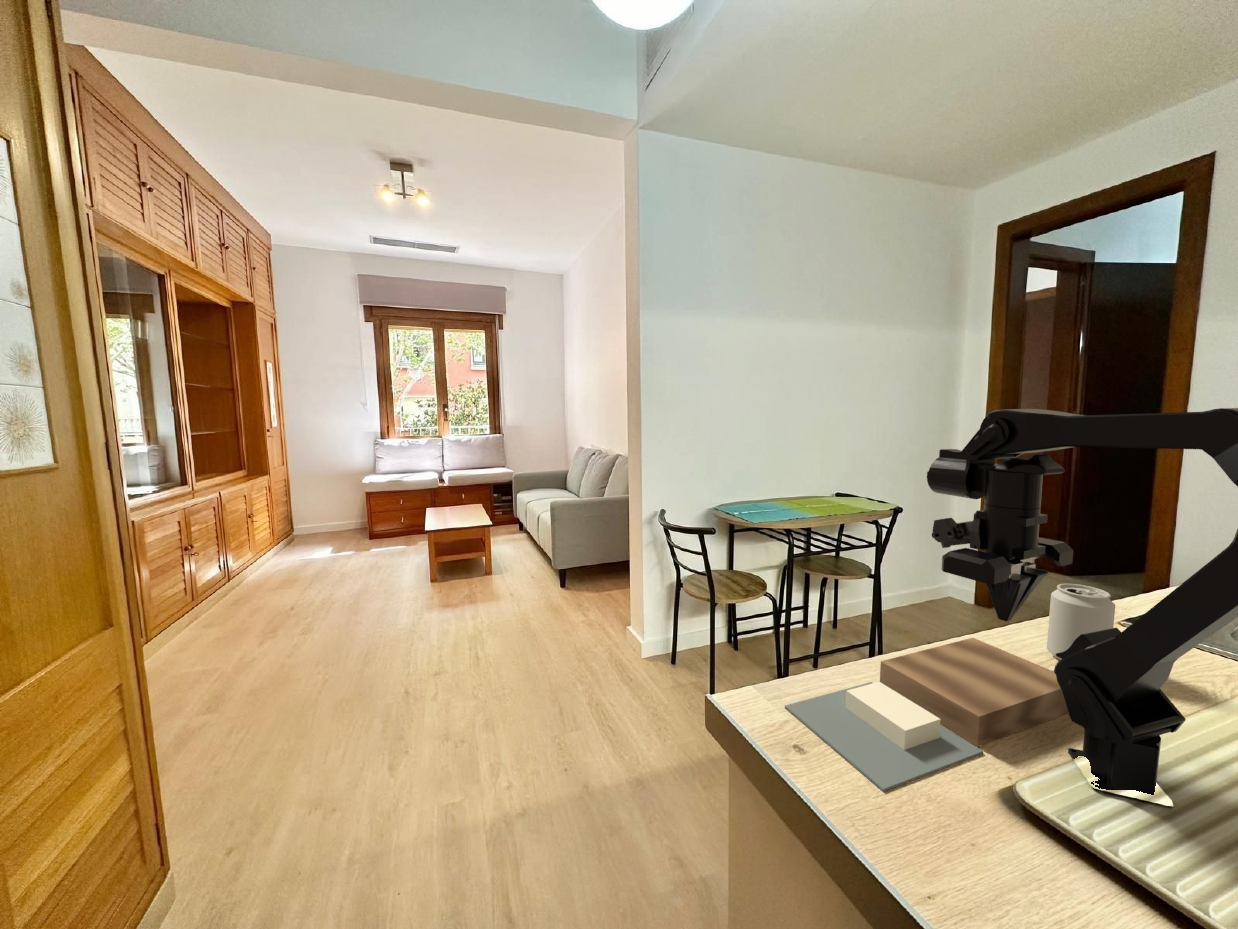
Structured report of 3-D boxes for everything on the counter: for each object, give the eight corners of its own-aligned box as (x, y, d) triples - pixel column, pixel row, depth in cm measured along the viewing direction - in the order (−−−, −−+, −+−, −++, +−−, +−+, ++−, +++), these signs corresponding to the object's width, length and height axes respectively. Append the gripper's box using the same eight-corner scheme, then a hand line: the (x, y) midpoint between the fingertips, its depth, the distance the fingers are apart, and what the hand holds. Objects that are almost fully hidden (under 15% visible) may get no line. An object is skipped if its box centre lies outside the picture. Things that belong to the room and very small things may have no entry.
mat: (871, 683, 72) (871, 682, 72) (982, 753, 57) (983, 751, 57) (784, 707, 67) (784, 705, 67) (883, 791, 52) (883, 789, 52)
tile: (846, 690, 66) (845, 707, 66) (905, 730, 58) (904, 750, 58) (879, 681, 68) (878, 698, 68) (940, 719, 60) (939, 737, 60)
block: (971, 660, 78) (972, 637, 78) (1077, 710, 65) (1079, 682, 65) (879, 686, 72) (880, 661, 71) (977, 747, 59) (979, 716, 58)
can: (1045, 644, 84) (1050, 577, 82) (1106, 657, 79) (1112, 587, 77) (1047, 662, 78) (1053, 590, 76) (1113, 677, 73) (1120, 601, 72)
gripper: (986, 491, 74) (980, 589, 75) (905, 502, 66) (900, 610, 68) (1079, 502, 64) (1070, 615, 65) (995, 516, 56) (987, 644, 58)
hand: (1004, 619), depth 64 cm, fingers closed
